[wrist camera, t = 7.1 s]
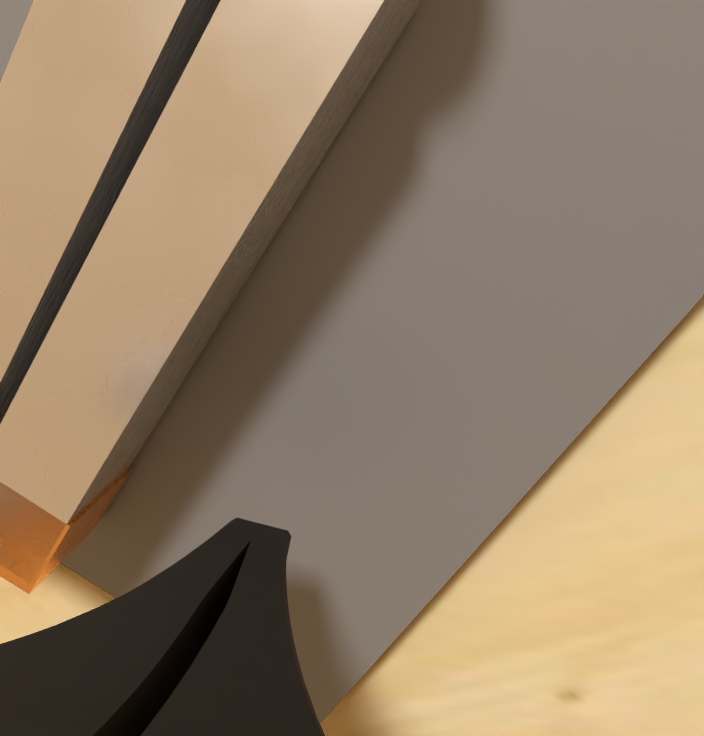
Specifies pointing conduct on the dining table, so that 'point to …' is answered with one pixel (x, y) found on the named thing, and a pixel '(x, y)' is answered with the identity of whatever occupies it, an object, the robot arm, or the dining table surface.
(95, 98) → the tongs fixed
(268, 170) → the bar
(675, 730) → the dining table surface
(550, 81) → the cutting board
